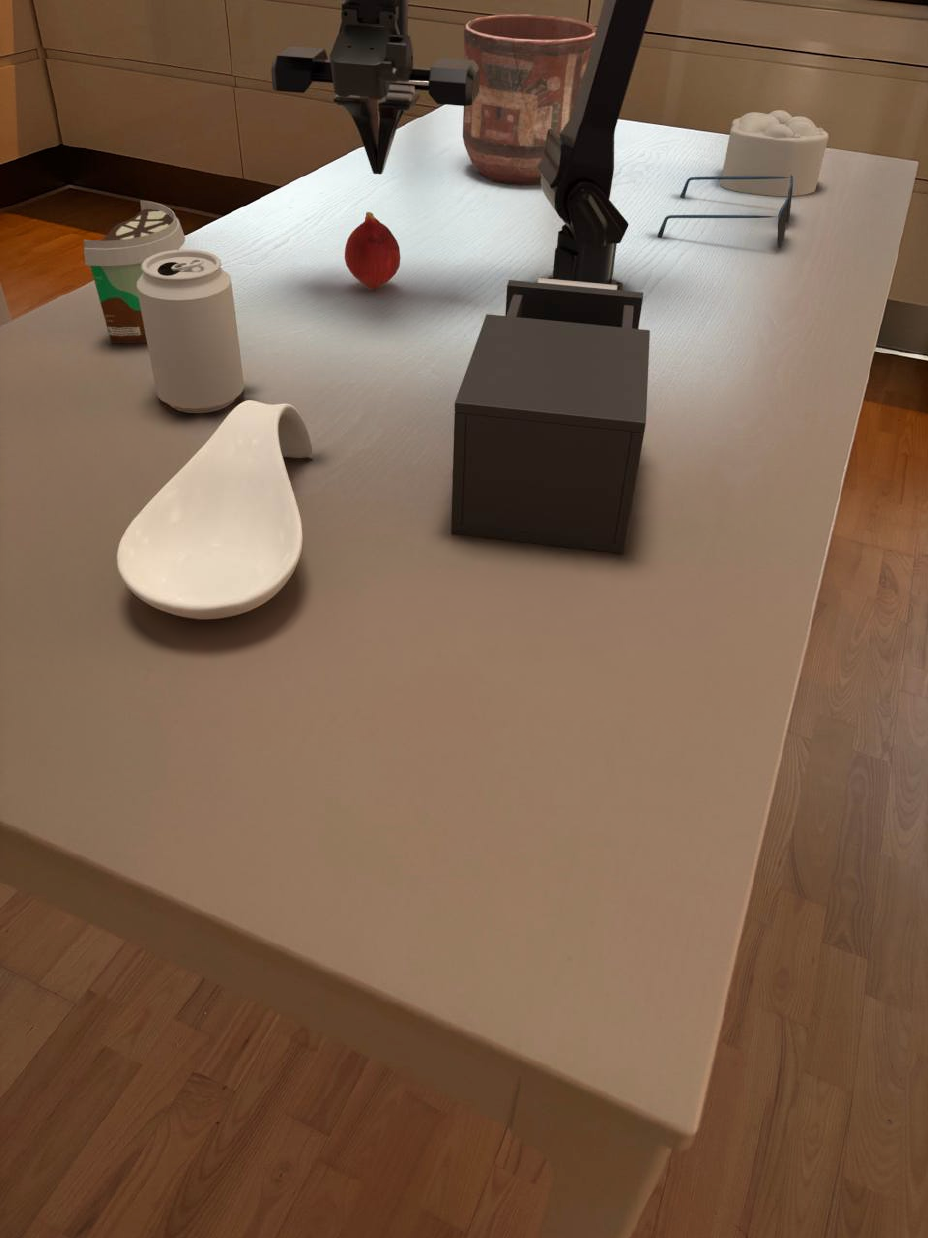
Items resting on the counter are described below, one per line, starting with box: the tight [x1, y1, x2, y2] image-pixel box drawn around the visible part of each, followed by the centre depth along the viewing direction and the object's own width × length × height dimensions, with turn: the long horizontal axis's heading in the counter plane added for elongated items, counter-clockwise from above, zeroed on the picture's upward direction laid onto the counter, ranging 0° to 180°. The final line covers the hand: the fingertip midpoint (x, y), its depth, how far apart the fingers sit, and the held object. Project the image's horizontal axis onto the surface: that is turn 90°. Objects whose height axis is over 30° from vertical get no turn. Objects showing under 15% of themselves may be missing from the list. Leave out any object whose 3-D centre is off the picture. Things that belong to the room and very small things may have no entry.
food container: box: [83, 199, 186, 344], centre depth 94 cm, size 12×6×10 cm, turn 168°
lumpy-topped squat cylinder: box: [719, 109, 829, 197], centre depth 137 cm, size 10×13×9 cm
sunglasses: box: [656, 175, 793, 249], centre depth 125 cm, size 17×15×5 cm
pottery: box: [462, 14, 597, 186], centre depth 134 cm, size 18×18×18 cm
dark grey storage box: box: [450, 314, 651, 555], centre depth 74 cm, size 15×13×11 cm
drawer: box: [504, 277, 644, 329], centre depth 83 cm, size 18×11×9 cm, turn 171°
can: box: [137, 248, 245, 414], centre depth 83 cm, size 8×8×12 cm
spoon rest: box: [116, 399, 313, 620], centre depth 69 cm, size 24×12×7 cm, turn 174°
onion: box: [344, 211, 401, 291], centre depth 104 cm, size 6×6×8 cm
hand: (378, 172), depth 98 cm, fingers closed
